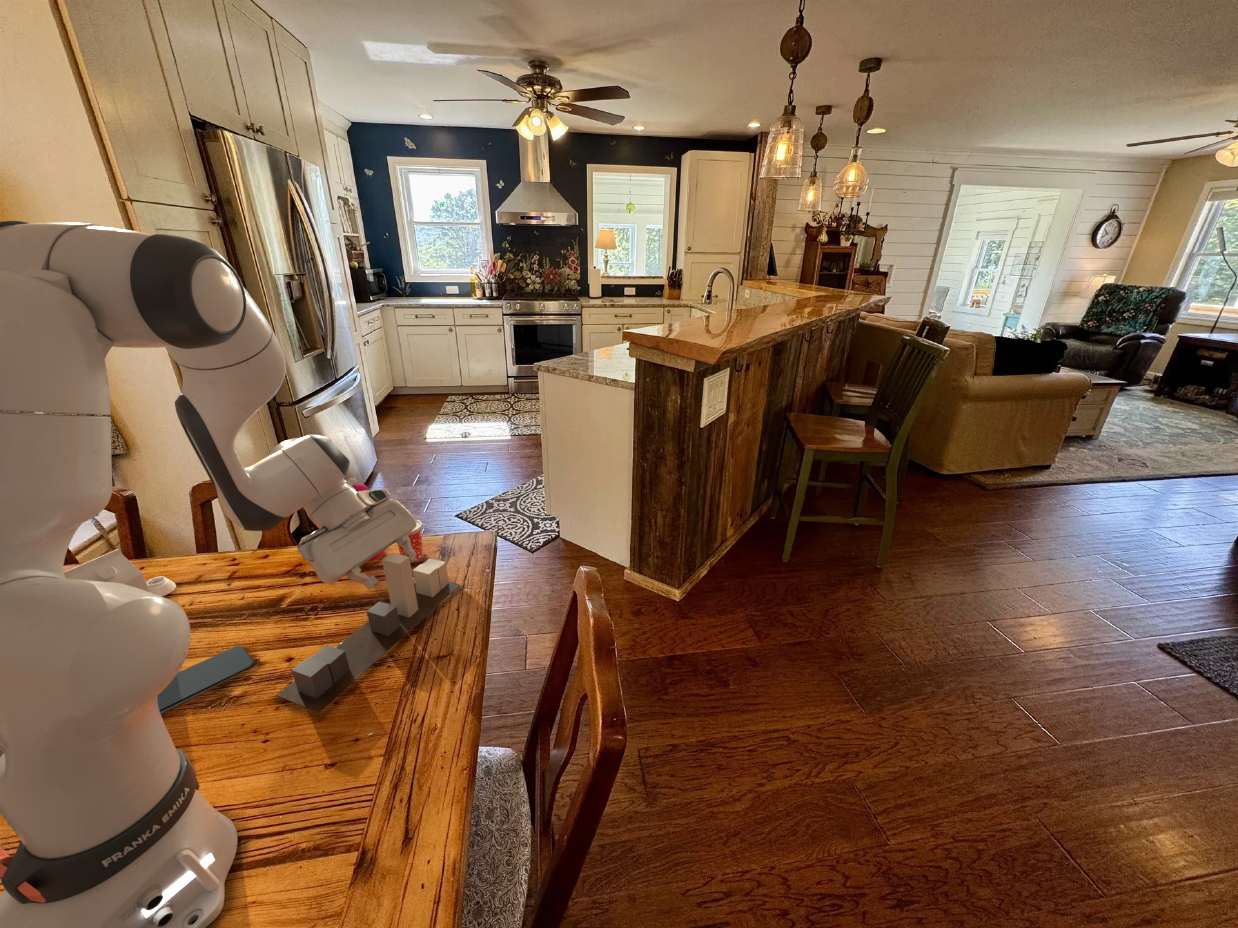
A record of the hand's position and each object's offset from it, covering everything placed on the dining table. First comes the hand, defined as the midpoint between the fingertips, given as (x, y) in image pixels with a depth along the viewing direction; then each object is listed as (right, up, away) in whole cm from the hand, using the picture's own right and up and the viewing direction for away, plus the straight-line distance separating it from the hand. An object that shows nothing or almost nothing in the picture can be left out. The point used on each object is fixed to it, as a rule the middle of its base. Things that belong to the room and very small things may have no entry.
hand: (394, 571), depth 91 cm
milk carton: (-42, -13, -6) cm, 44 cm away
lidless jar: (-51, -6, +9) cm, 53 cm away
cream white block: (+3, -6, +10) cm, 12 cm away
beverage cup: (-5, -2, +21) cm, 22 cm away
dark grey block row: (-4, -13, -7) cm, 15 cm away
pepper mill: (-16, -2, +21) cm, 27 cm away
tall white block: (+1, -8, +3) cm, 9 cm away
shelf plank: (-1, -11, -2) cm, 12 cm away
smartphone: (-26, -16, -13) cm, 33 cm away
